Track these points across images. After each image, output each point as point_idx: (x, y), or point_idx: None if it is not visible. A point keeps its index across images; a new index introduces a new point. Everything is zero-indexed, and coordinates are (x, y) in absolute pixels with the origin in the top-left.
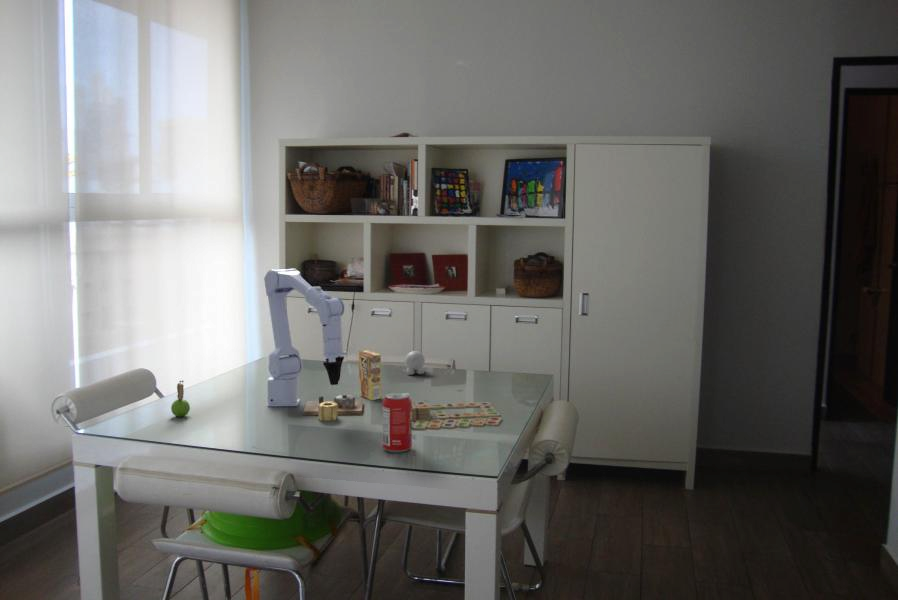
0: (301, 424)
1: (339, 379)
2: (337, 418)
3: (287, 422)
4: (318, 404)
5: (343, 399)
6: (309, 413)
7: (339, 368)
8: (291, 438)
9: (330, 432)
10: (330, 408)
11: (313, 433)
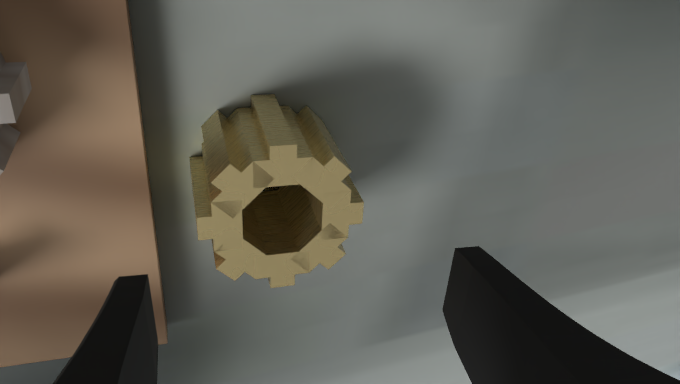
0: (384, 285)
1: (137, 280)
2: (272, 95)
3: (333, 357)
4: (284, 284)
5: (4, 113)
6: (163, 299)
7: (674, 381)
8: (623, 270)
9: (586, 100)
10: (346, 181)
11: (576, 190)
